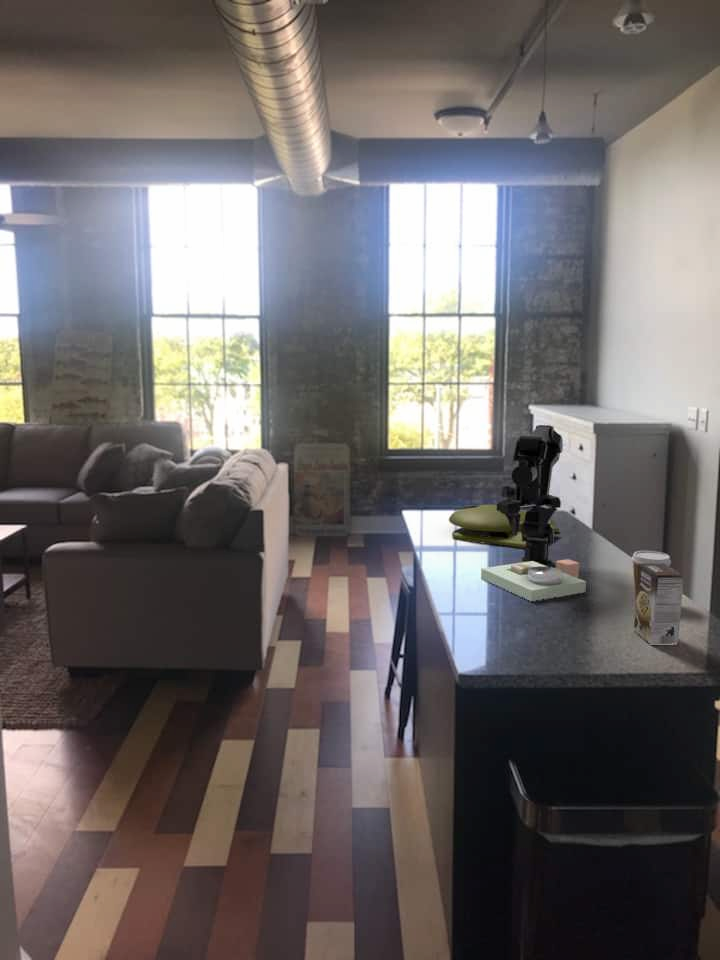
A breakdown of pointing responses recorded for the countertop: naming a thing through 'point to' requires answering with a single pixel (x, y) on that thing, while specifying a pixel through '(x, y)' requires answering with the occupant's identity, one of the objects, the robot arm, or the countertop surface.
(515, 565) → the birch cube
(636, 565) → the disposable coffee cup
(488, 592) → the countertop surface
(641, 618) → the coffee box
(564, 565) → the terracotta cube
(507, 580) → the pocket deck
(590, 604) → the countertop surface
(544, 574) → the metal puck
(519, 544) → the spaceship
